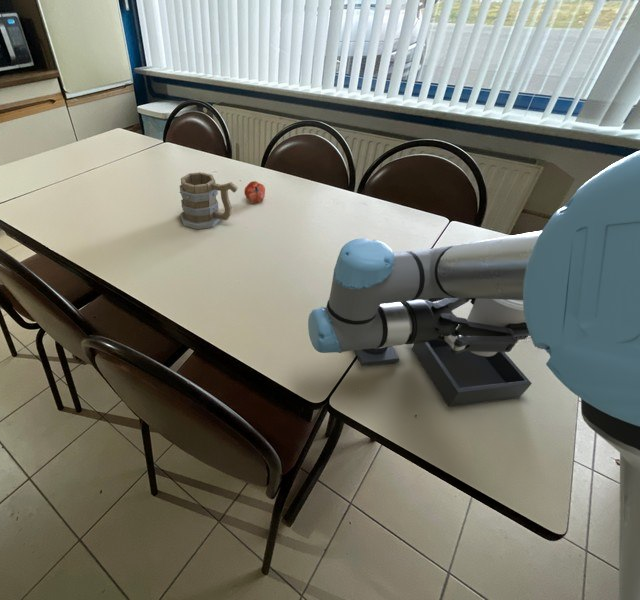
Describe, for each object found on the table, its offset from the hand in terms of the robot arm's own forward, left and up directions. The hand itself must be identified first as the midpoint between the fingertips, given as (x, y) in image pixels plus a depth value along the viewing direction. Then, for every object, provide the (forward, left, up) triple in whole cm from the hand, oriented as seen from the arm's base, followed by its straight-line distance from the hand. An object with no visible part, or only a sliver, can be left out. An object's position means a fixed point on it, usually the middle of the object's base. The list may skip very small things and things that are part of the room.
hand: (523, 310), depth 64 cm
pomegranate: (+81, +34, -17) cm, 90 cm away
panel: (+9, +20, -17) cm, 28 cm away
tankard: (+68, +51, -17) cm, 87 cm away
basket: (0, +4, -17) cm, 17 cm away
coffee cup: (0, +5, -8) cm, 10 cm away
